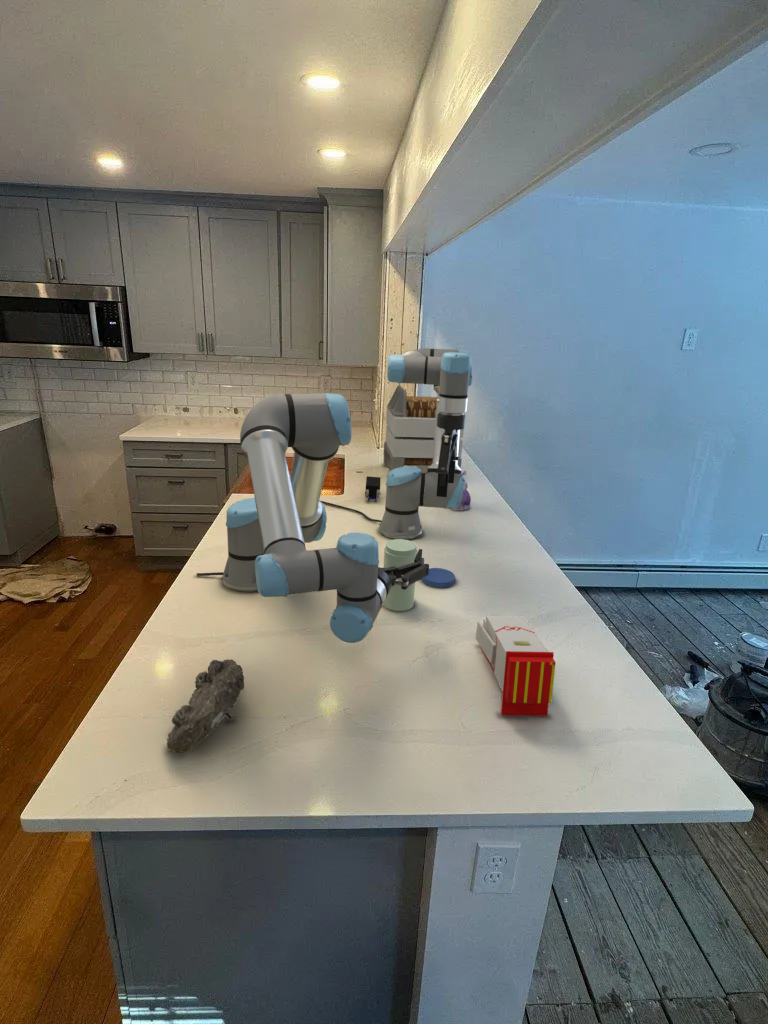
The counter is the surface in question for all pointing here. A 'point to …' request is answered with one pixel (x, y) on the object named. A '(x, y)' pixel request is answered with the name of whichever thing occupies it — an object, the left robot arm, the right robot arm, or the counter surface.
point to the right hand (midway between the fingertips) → (445, 489)
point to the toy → (518, 664)
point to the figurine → (464, 498)
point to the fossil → (206, 705)
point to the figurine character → (372, 488)
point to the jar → (399, 555)
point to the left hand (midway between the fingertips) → (392, 550)
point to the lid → (439, 578)
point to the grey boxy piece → (411, 431)
